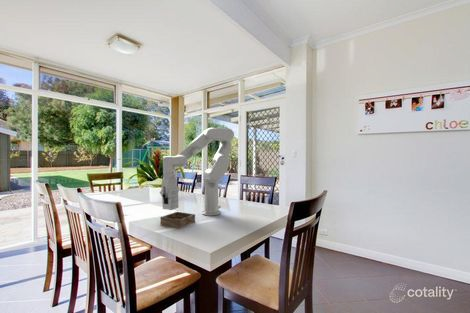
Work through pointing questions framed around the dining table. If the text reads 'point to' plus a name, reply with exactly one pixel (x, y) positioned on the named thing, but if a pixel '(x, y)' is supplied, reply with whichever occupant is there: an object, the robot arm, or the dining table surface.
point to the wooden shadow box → (177, 219)
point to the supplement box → (171, 200)
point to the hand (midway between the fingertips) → (170, 202)
